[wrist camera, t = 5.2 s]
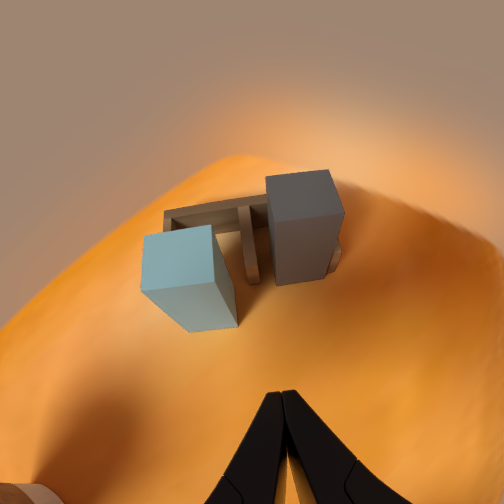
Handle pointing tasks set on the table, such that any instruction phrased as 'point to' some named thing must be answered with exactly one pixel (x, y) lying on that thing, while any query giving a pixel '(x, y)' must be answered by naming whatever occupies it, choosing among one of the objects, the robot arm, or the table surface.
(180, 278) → the pale blue tall block
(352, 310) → the table surface
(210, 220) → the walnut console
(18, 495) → the coffee cup
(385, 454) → the table surface
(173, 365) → the table surface
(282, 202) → the dark gray block
